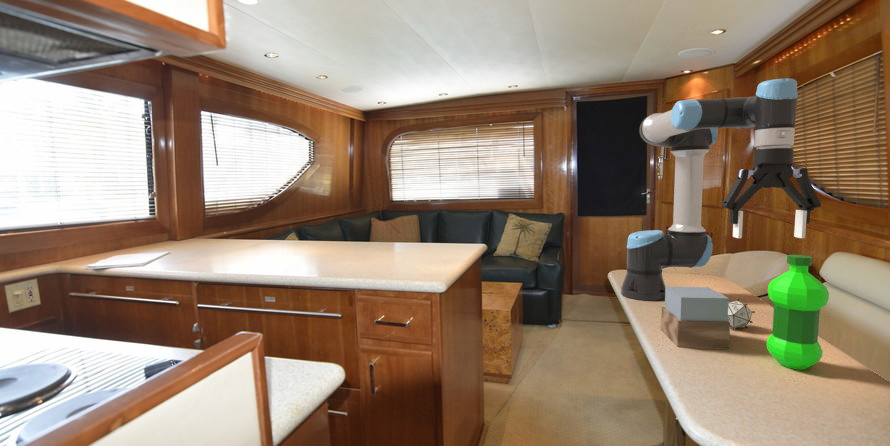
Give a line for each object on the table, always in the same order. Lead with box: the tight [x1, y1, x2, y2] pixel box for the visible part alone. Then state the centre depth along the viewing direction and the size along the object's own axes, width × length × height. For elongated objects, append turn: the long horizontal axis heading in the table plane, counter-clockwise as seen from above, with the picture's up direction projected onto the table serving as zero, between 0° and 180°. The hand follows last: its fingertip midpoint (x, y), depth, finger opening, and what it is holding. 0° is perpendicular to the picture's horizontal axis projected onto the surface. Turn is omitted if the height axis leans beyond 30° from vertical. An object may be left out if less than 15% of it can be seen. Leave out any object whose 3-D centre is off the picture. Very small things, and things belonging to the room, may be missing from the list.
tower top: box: [664, 286, 730, 322], centre depth 113 cm, size 11×11×6 cm
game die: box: [728, 298, 756, 331], centre depth 122 cm, size 9×8×10 cm
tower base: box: [660, 306, 731, 350], centre depth 114 cm, size 12×12×7 cm
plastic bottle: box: [766, 254, 830, 370], centre depth 97 cm, size 10×10×25 cm
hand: (768, 237), depth 103 cm, fingers open, 13 cm apart
